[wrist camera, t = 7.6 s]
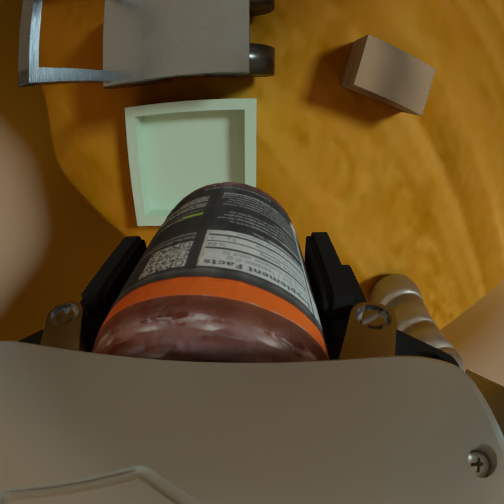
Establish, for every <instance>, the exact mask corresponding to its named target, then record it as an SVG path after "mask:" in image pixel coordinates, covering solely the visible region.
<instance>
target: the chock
mask: <svg viewBox="0 0 504 504" xmlns="http://www.w3.org/2000/svg"><path fill="white" fill-rule="evenodd" d="M434 73H435V69H434V68H433V67H431V66H429V65H428V64H426V63H424V62H422V61H421V60H419V59H417V58H415V57H413V56H412V55H410V54H408V53H406V52H404V51H402V50H400V49H398V48H396V47H394V46H392V45H390V44H388V43H386V42H384V41H382V40H380V39H378V38H375V37H373V36H371V35H369V34H368V35H366V36H364V37H362V38H360V39H358V40H356V41H354V42H353V45H352V48H351V52H350V55H349V59H348V62H347V65H346V69H345V72H344V75H343V79H342V82H341V85H340V86H343V87H345V88H348V89H350V90H353V91H356V92H358V93H360V94H363V95H365V96H368V97H370V98H372V99H375V100H377V101H379V102H382V103H384V104H386V105H388V106H390V107H393V108H395V109H397V110H399V111H401V112H405V113H410V114H415V115H420V116H422V114H423V111H424V108H425V104H426V101H427V98H428V94H429V91H430V87H431V84H432V80H433V77H434Z"/></svg>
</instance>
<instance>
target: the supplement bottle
mask: <svg viewBox="0 0 504 504" xmlns="http://www.w3.org/2000/svg"><path fill="white" fill-rule="evenodd" d="M92 353H98V354H106V355H115V356H124V357H133V358H144V359H156V360H171V361H189V362H218V363H272V362H303V361H322V360H329V356H328V352H327V348H326V340H325V337H324V333H323V329H322V325H321V322H320V318H319V315H318V311H317V306H316V302H315V299H314V295H313V292H312V288H311V284H310V281H309V277H308V274H307V270H306V266H305V263H304V259H303V255H302V252H301V249H300V245H299V242H298V239H297V235H296V232H295V230H294V227H293V225H292V223H291V220H290V218H289V216H288V214H287V213H286V211H285V210H284V208H283V207H282V206H281V205H280V204H279V203H278V202H277V201H276V200H275V199H274V198H272V197H271V196H270V195H268V194H267V193H265V192H263V191H262V190H260V189H258V188H256V187H253V186H250V185H247V184H242V183H236V182H223V183H215V184H211V185H206V186H204V187H201V188H199V189H197V190H195V191H193V192H191V193H190V194H189V195H187V196H186V197H184V198H183V199H182V200H181V201H180V202H179V203H178V204H177V205H176V206H175V207H174V209H172V211H171V212H170V214H169V215H168V216H167V218H166V220H165V221H164V223H163V224H162V225H161V227H160V229H159V230H158V232H157V233H156V235H155V236H154V237H153V239H152V240H151V242H150V244H149V246H148V247H147V249H146V251H145V252H144V254H143V255H142V257H141V258H140V260H139V262H138V264H137V265H136V267H135V268H134V270H133V272H132V273H131V275H130V277H129V278H128V280H127V282H126V283H125V285H124V287H123V288H122V290H121V292H120V294H119V296H118V297H117V299H116V301H115V302H114V304H113V305H112V307H111V310H110V312H109V314H108V316H107V318H106V319H105V321H104V323H103V325H102V326H101V328H100V330H99V333H98V335H97V338H96V340H95V344H94V347H93V350H92Z"/></svg>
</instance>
